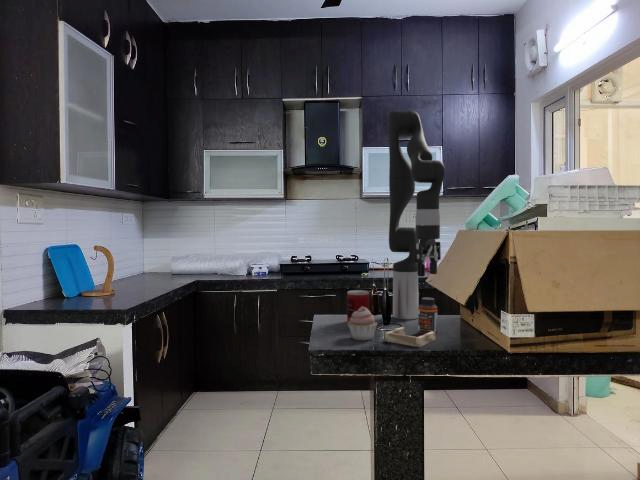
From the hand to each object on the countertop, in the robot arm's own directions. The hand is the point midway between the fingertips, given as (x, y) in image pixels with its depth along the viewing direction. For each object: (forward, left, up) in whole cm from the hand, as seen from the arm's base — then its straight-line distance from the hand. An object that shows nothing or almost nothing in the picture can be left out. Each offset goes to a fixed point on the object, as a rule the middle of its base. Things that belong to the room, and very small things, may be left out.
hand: (427, 275), depth 159 cm
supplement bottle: (0, 0, -19) cm, 19 cm away
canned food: (-1, -27, -19) cm, 33 cm away
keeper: (+11, 0, -19) cm, 22 cm away
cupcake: (+18, -13, -19) cm, 29 cm away
